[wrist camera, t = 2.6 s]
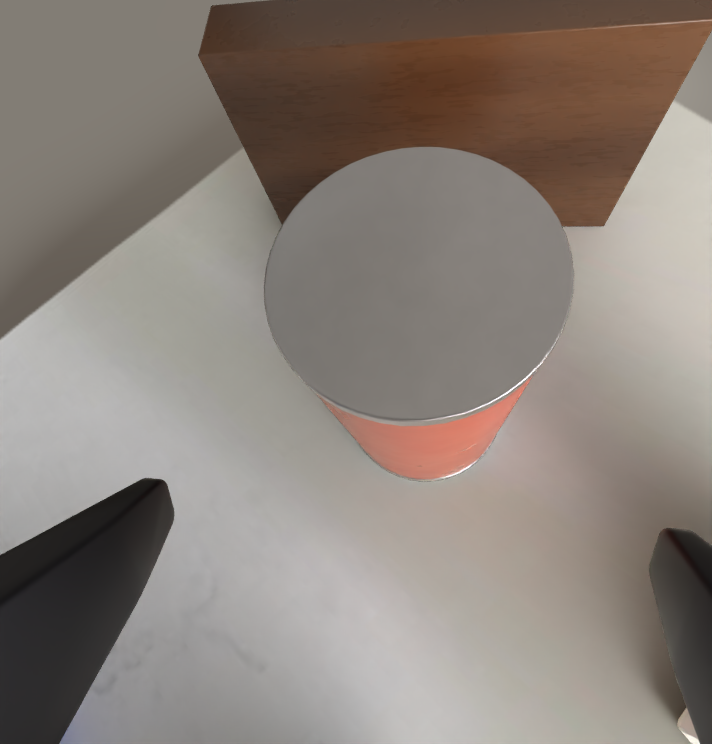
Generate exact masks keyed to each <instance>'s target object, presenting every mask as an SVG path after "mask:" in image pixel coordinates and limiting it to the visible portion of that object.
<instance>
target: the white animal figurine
mask: <svg viewBox="0 0 712 744" xmlns="http://www.w3.org/2000/svg"><path fill="white" fill-rule="evenodd" d="M677 727H678V728H679V729H680V731H681V732H682V733H683V734H684V735H685V736H686V737H687V738H688V740H689V741H690V742H691V743H692V744H700V743H699V740H698V737H697V734H696V732H695V729H694V726H693V723H692V721H691V718H690V715H689V712H688V710H687V707H686V709H685V710H684V712H683V714H682V715H681V717H680V718H679V719H678V724H677Z"/></svg>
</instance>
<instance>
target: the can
mask: <svg viewBox="0 0 712 744" xmlns="http://www.w3.org/2000/svg"><path fill="white" fill-rule="evenodd" d="M573 286H574V270H573V261H572V254H571V250H570V247H569V243H568V240H567V236H566V234H565V232H564V230H563V227H562V225H561V223H560V221H559V219H558V217H557V216H556V214H555V213H554V211H553V210H552V208H551V206H550V205H549V204H548V202H547V201H546V200H545V199H544V198H543V197H542V195H541V194H540V193H539V192H538V191H537V190H536V189H535V188H534V187H533V186H532V185H530V184H529V183H528V182H527V181H526V180H525V179H524V178H522V177H521V176H519V175H518V174H516V173H515V172H513V171H512V170H510V169H509V168H507V167H505V166H503V165H501V164H499V163H497V162H495V161H493V160H491V159H488V158H485V157H482V156H480V155H477V154H474V153H470V152H466V151H462V150H457V149H450V148H442V147H412V148H401V149H396V150H391V151H385V152H382V153H378V154H375V155H372V156H368V157H366V158H363V159H361V160H358V161H356V162H354V163H351V164H349V165H347V166H345V167H344V168H342V169H340V170H338V171H336V172H335V173H333V174H332V175H330V176H329V177H327V178H326V179H324V180H323V181H322V182H320V183H319V184H318V185H317V186H315V187H314V188H313V189H312V190H311V191H310V192H309V193H307V194H306V195H305V196H304V198H303V199H302V200H301V201H300V202H299V203H298V204H297V205H296V206H295V207H294V209H293V210H292V212H291V213H290V214H289V216H288V217H287V219H286V220H285V221H284V223H283V225H282V227H281V229H280V231H279V232H278V234H277V236H276V238H275V241H274V244H273V246H272V249H271V251H270V254H269V259H268V263H267V267H266V273H265V282H264V302H265V309H266V315H267V320H268V324H269V327H270V330H271V333H272V336H273V339H274V341H275V342H276V344H277V346H278V348H279V350H280V352H281V354H282V356H283V357H284V359H285V360H286V361H287V363H288V364H289V366H290V367H291V368H292V370H293V371H294V372H295V373H296V374H297V375H298V376H299V377H300V379H301V380H302V381H303V382H304V383H305V384H306V385H307V386H308V387H309V388H310V389H311V390H313V391H314V392H315V393H316V394H317V395H318V396H319V398H320V399H321V400H322V401H323V402H324V403H325V405H326V406H327V407H328V408H329V409H330V410H331V412H332V413H333V414H334V415H335V416H336V417H337V419H338V420H339V421H340V422H341V423H342V424H343V426H344V427H345V428H346V429H347V430H348V431H349V433H350V434H351V435H352V436H353V437H354V438H355V440H356V441H357V442H358V443H359V445H360V446H361V447H362V449H363V450H364V452H365V453H366V454H367V455H368V456H369V457H370V458H371V459H372V460H373V461H374V462H375V463H376V464H377V465H379V466H380V467H381V468H383V469H384V470H386V471H388V472H389V473H392V474H394V475H396V476H398V477H402V478H405V479H408V480H415V481H437V480H442V479H446V478H450V477H453V476H455V475H458V474H460V473H462V472H463V471H465V470H467V469H469V468H470V467H471V466H473V465H474V464H475V463H476V462H477V461H478V460H479V459H480V458H481V457H482V456H483V455H484V454H485V453H486V451H487V450H488V449H489V447H490V446H491V444H492V442H493V440H494V439H495V437H496V434H497V432H498V431H499V429H500V428H501V426H502V424H503V423H504V421H505V420H506V418H507V416H508V415H509V413H510V412H511V410H512V408H513V407H514V405H515V404H516V402H517V400H518V399H519V397H520V396H521V394H522V392H523V391H524V389H525V388H526V386H527V384H528V383H529V381H530V380H531V378H532V376H533V375H534V374H535V373H536V371H537V370H538V369H539V367H540V366H541V365H542V364H543V362H544V361H545V360H546V358H547V357H548V356H549V354H550V352H551V351H552V349H553V348H554V346H555V344H556V342H557V340H558V338H559V337H560V335H561V333H562V331H563V328H564V326H565V323H566V320H567V317H568V315H569V312H570V307H571V302H572V297H573Z"/></svg>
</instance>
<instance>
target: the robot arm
mask: <svg viewBox="0 0 712 744" xmlns="http://www.w3.org/2000/svg"><path fill="white" fill-rule="evenodd" d="M173 521H174V508H173V504H172V500H171V497H170V493H169V489H168V486H167V483H166V482H165V481H164V480H161V479H152V478H144V479H141V480H139V481H137V482H136V483H134V484H132V485H130V486H128V487H126V488H124V489H123V490H121V491H119V492H117V493H115V494H113V495H111V496H110V497H108V498H106V499H104V500H102V501H100V502H98V503H97V504H95V505H93V506H91V507H89V508H87V509H85V510H84V511H82V512H80V513H78V514H76V515H74V516H72V517H71V518H69V519H67V520H65V521H63V522H61V523H59V524H58V525H56V526H54V527H52V528H50V529H48V530H46V531H45V532H43V533H41V534H39V535H37V536H35V537H33V538H32V539H30V540H28V541H26V542H24V543H22V544H20V545H19V546H17V547H15V548H13V549H11V550H9V551H7V552H6V553H4V554H2V555H0V744H59V743H60V741H61V739H62V737H63V736H64V734H65V732H66V730H67V728H68V727H69V725H70V723H71V721H72V719H73V718H74V716H75V714H76V712H77V710H78V709H79V707H80V705H81V703H82V701H83V700H84V698H85V696H86V694H87V692H88V691H89V689H90V687H91V685H92V683H93V682H94V680H95V678H96V676H97V674H98V673H99V671H100V669H101V667H102V665H103V664H104V662H105V660H106V658H107V656H108V655H109V653H110V651H111V649H112V647H113V646H114V644H115V642H116V640H117V638H118V637H119V635H120V633H121V631H122V629H123V627H124V626H125V624H126V622H127V620H128V618H129V617H130V615H131V613H132V611H133V609H134V608H135V606H136V604H137V602H138V600H139V598H140V596H141V594H142V592H143V590H144V588H145V586H146V584H147V582H148V579H149V577H150V575H151V572H152V570H153V568H154V566H155V563H156V561H157V559H158V556H159V554H160V552H161V549H162V547H163V545H164V542H165V540H166V538H167V536H168V533H169V531H170V529H171V526H172V524H173ZM649 572H650V578H651V582H652V586H653V591H654V595H655V599H656V603H657V607H658V611H659V615H660V619H661V623H662V627H663V631H664V635H665V639H666V643H667V647H668V651H669V655H670V659H671V663H672V666H673V670H674V673H675V676H676V679H677V682H678V685H679V688H680V690H681V693H682V696H683V699H684V701H685V704H686V707H687V710H688V712H689V715H690V718H691V721H692V723H693V726H694V729H695V732H696V734H697V737H698V740H699V743H700V744H712V546H711V545H710V544H709V543H707V542H706V541H705V540H704V539H702V538H701V537H700V536H699V535H697V534H696V533H694V532H693V531H691V530H686V529H676V528H664V529H662V531H661V532H660V534H659V536H658V539H657V542H656V545H655V548H654V551H653V555H652V558H651V561H650V566H649Z"/></svg>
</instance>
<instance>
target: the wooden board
mask: <svg viewBox="0 0 712 744" xmlns="http://www.w3.org/2000/svg"><path fill="white" fill-rule="evenodd" d="M711 31H712V0H268V1H256V2H245V3H235V4H224V5H212V6H211V8H210V12H209V16H208V20H207V24H206V27H205V32H204V35H203V39H202V43H201V47H200V51H199V54H198V56H199V58H200V60H201V62H202V64H203V66H204V68H205V70H206V72H207V74H208V76H209V79H210V80H211V82H212V85H213V87H214V88H215V91H216V92H217V95H218V96H219V99H220V101H221V103H222V104H223V106H224V108H225V111H226V113H227V115H228V117H229V118H230V120H231V123H232V125H233V127H234V129H235V131H236V133H237V135H238V137H239V139H240V141H241V143H242V145H243V147H244V149H245V151H246V153H247V155H248V157H249V159H250V161H251V163H252V165H253V167H254V169H255V171H256V173H257V175H258V177H259V179H260V181H261V183H262V185H263V187H264V189H265V191H266V193H267V195H268V197H269V199H270V201H271V203H272V205H273V207H274V209H275V211H276V213H277V215H278V217H279V219H280V221H281V223H282V225H283V223H284V221H285V220H286V219H287V217H288V216H289V214H290V213H291V212H292V210H293V209H294V207H295V206H296V205H297V204H298V203H299V202H300V201H301V200H302V199H303V198H304V196H305V195H306V194H307V193H309V192H310V191H311V190H312V189H313V188H314V187H315V186H317V185H318V184H319V183H320V182H322V181H323V180H324V179H326V178H327V177H329V176H330V175H332V174H333V173H335V172H336V171H338V170H340V169H342V168H344V167H345V166H347V165H349V164H351V163H354V162H356V161H358V160H361V159H363V158H366V157H368V156H372V155H375V154H378V153H382V152H385V151H391V150H396V149H401V148H412V147H442V148H450V149H457V150H462V151H466V152H470V153H474V154H477V155H480V156H482V157H485V158H488V159H491V160H493V161H495V162H497V163H499V164H501V165H503V166H505V167H507V168H509V169H510V170H512V171H513V172H515V173H516V174H518V175H519V176H521V177H522V178H524V179H525V180H526V181H527V182H528V183H529V184H530V185H532V186H533V187H534V188H535V189H536V190H537V191H538V192H539V193H540V194H541V195H542V197H543V198H544V199H545V200H546V201H547V202H548V204H549V205H550V206H551V208H552V210H553V211H554V213H555V214H556V216H557V217H558V219H559V221H560V223H561V225H562V226H604V225H605V223H606V221H607V220H608V218H609V216H610V214H611V212H612V210H613V209H614V207H615V205H616V203H617V201H618V200H619V198H620V196H621V194H622V192H623V191H624V189H625V187H626V185H627V183H628V181H629V180H630V178H631V176H632V174H633V172H634V171H635V169H636V167H637V165H638V163H639V162H640V160H641V158H642V156H643V154H644V152H645V151H646V149H647V147H648V145H649V143H650V142H651V140H652V138H653V136H654V134H655V132H656V131H657V129H658V127H659V125H660V123H661V122H662V120H663V118H664V116H665V114H666V113H667V111H668V109H669V107H670V105H671V103H672V102H673V100H674V98H675V96H676V94H677V93H678V91H679V89H680V87H681V85H682V84H683V82H684V80H685V78H686V76H687V74H688V73H689V71H690V69H691V67H692V65H693V63H694V62H695V60H696V58H697V56H698V55H699V53H700V51H701V49H702V47H703V45H704V44H705V41H706V40H707V38H708V36H709V35H710V33H711Z"/></svg>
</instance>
